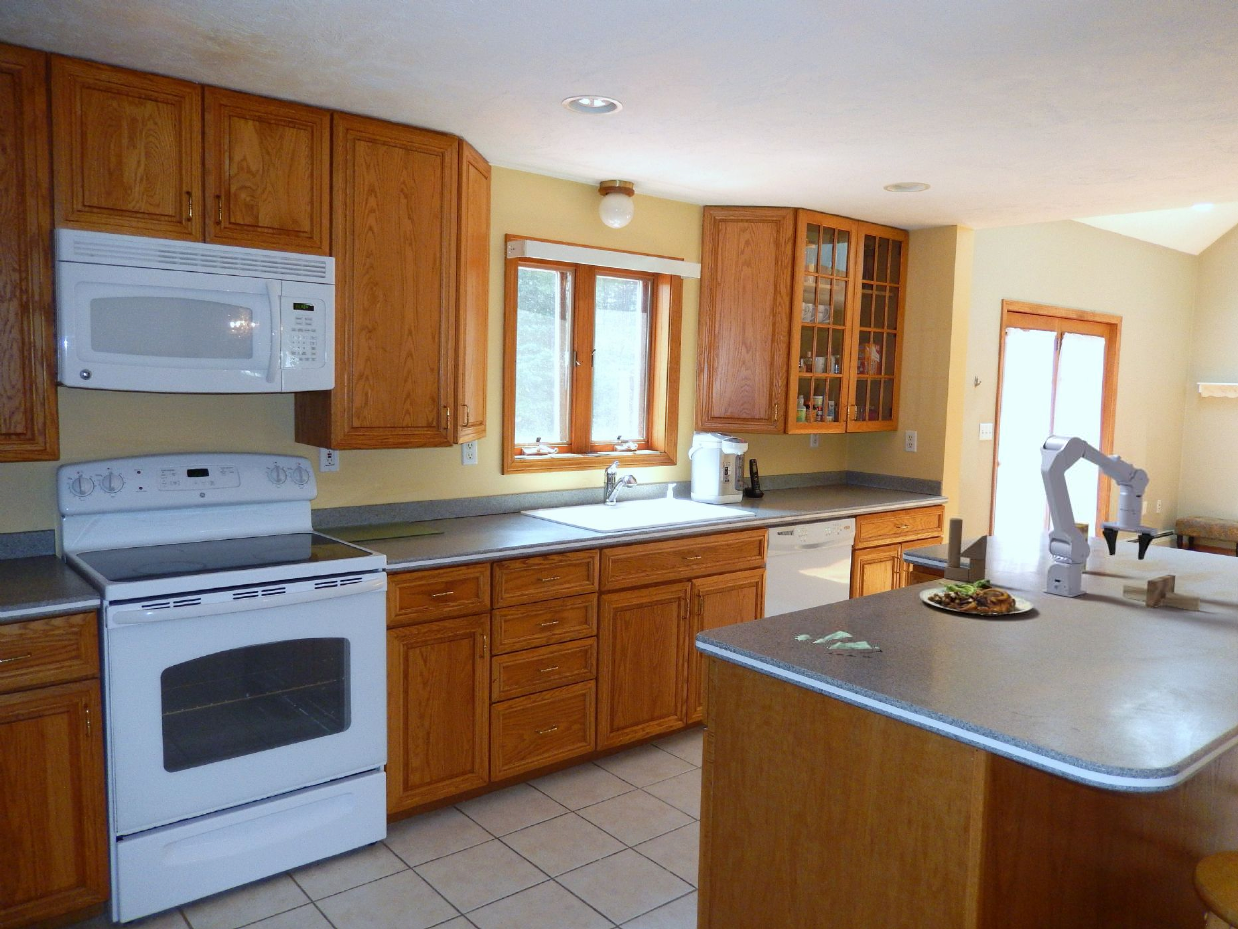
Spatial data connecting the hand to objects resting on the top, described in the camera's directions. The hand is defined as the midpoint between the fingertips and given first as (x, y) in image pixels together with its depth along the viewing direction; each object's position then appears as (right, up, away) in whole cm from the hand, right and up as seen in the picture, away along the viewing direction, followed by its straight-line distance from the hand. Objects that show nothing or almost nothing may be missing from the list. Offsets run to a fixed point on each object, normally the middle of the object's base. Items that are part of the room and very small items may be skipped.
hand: (1126, 557), depth 253 cm
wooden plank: (0, -11, -16) cm, 19 cm away
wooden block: (-43, -8, +9) cm, 44 cm away
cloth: (-95, -14, -59) cm, 113 cm away
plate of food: (-52, -11, -21) cm, 57 cm away
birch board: (0, -11, -15) cm, 19 cm away
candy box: (-3, -7, +27) cm, 28 cm away
